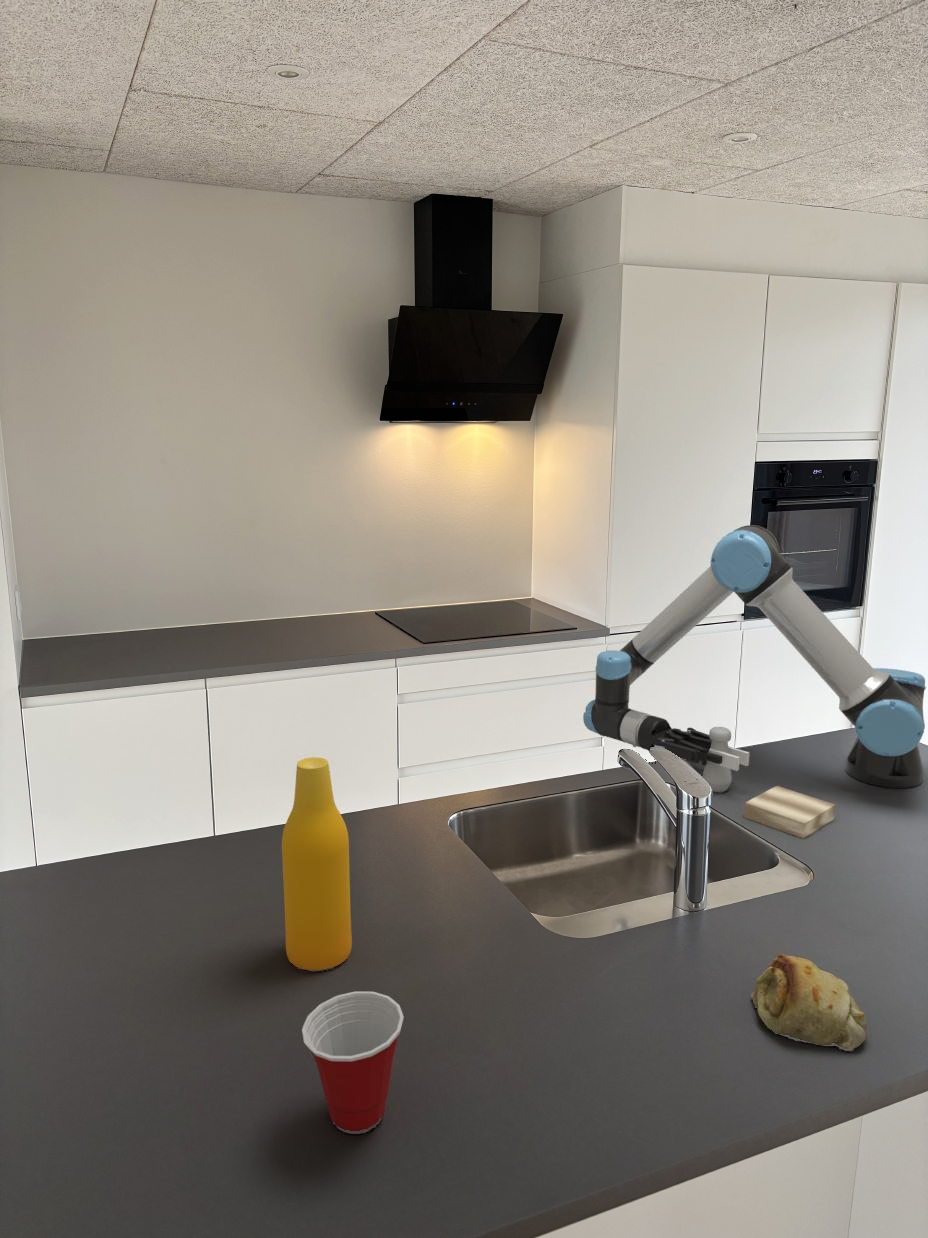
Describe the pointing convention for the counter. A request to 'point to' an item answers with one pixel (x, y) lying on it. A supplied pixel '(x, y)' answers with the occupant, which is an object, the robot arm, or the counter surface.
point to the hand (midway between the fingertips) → (742, 761)
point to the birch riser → (789, 811)
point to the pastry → (808, 1004)
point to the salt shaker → (713, 772)
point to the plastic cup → (354, 1054)
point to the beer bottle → (316, 873)
